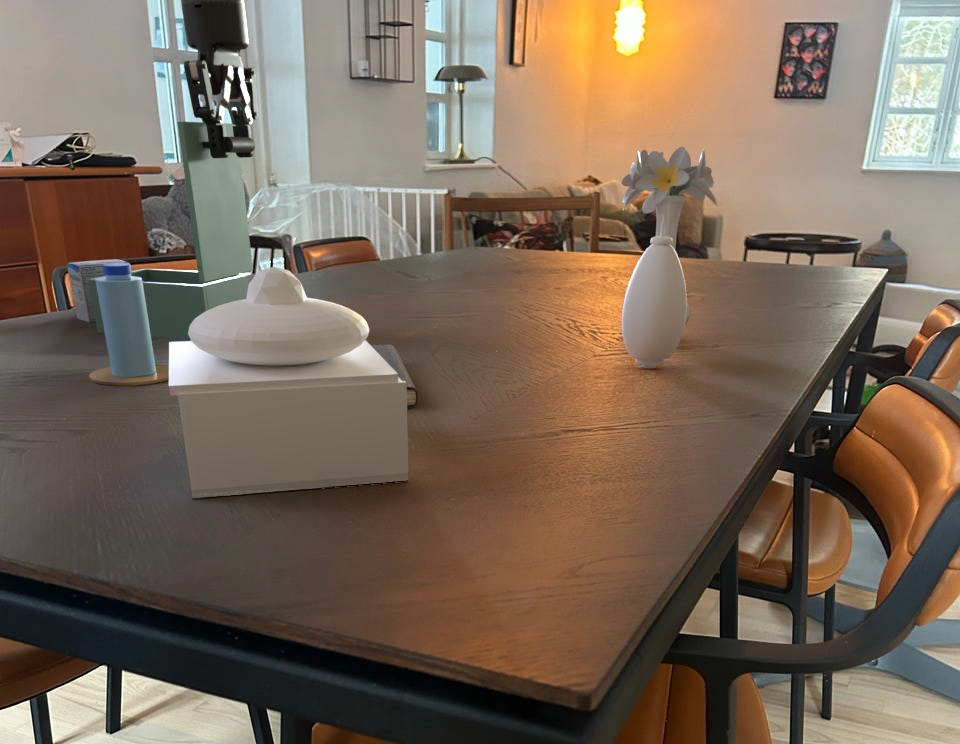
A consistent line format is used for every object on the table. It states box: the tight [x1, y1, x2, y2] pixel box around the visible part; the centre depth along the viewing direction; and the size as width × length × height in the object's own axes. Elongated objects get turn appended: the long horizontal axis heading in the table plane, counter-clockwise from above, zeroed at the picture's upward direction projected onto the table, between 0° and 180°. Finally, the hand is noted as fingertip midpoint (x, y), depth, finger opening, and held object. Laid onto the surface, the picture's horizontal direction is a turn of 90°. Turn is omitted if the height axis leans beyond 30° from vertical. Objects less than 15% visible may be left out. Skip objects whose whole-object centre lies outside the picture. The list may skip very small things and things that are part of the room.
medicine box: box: [66, 258, 131, 323], centre depth 138 cm, size 8×4×9 cm, turn 135°
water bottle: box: [96, 263, 156, 377], centre depth 106 cm, size 5×5×12 cm
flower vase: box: [621, 146, 719, 326], centre depth 130 cm, size 13×18×25 cm
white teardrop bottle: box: [621, 213, 688, 370], centre depth 113 cm, size 8×8×18 cm
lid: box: [177, 121, 256, 282], centre depth 122 cm, size 19×14×5 cm
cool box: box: [88, 268, 252, 340], centre depth 131 cm, size 18×14×8 cm
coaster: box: [88, 363, 169, 387], centre depth 109 cm, size 10×10×1 cm
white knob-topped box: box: [168, 266, 410, 495], centre depth 78 cm, size 18×18×16 cm
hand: (232, 157), depth 119 cm, fingers closed on lid, 6 cm apart
